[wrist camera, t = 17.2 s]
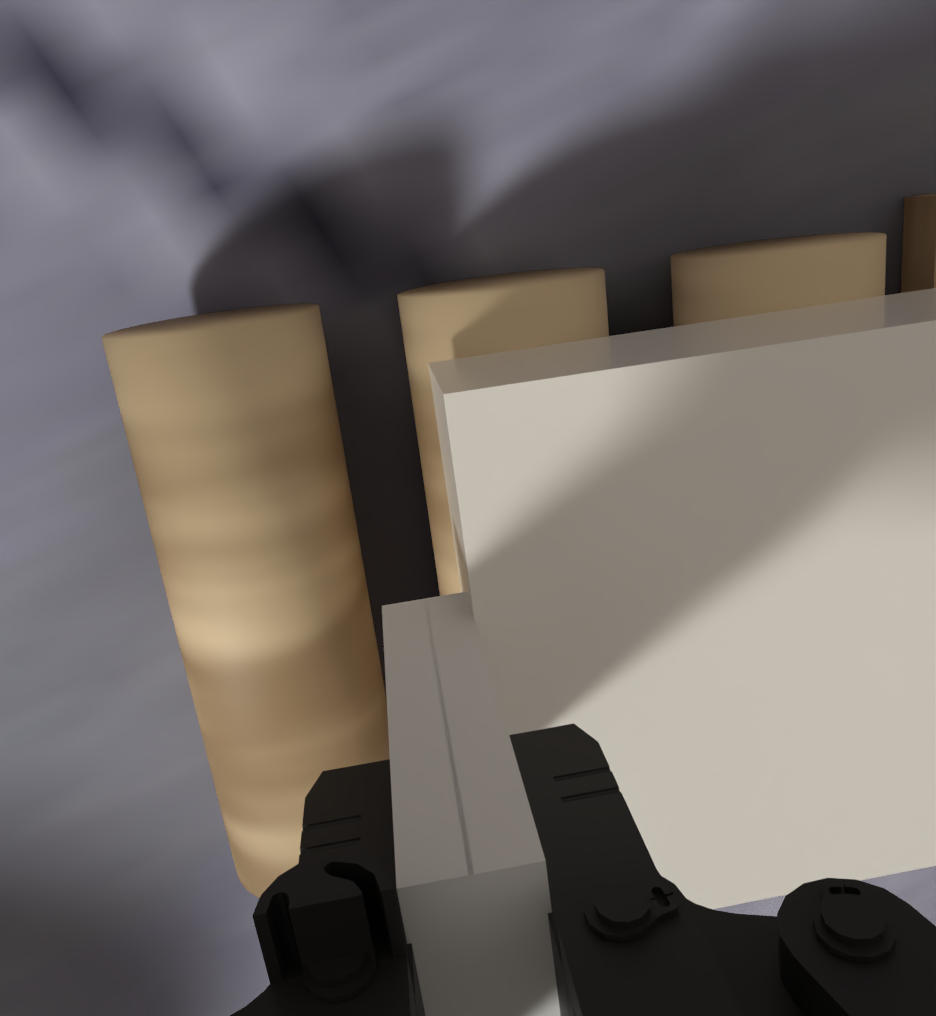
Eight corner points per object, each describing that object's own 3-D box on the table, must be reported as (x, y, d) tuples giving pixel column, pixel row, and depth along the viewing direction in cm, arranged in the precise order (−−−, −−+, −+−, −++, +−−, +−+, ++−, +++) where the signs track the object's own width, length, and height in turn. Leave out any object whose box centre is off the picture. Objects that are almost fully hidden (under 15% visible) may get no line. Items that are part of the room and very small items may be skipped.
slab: (1033, 735, 19) (1150, 824, 16) (496, 834, 18) (520, 946, 15) (1076, 266, 16) (1230, 275, 13) (428, 362, 15) (443, 393, 12)
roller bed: (1235, 649, 24) (1397, 728, 20) (251, 817, 22) (228, 939, 18) (1326, 142, 20) (1552, 122, 16) (126, 298, 18) (63, 318, 14)
